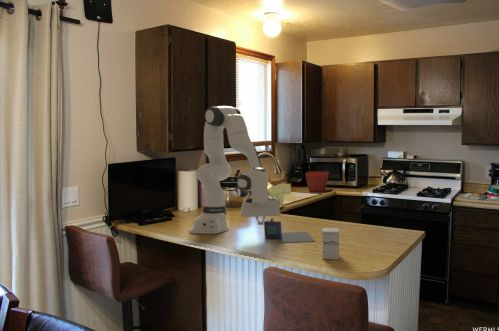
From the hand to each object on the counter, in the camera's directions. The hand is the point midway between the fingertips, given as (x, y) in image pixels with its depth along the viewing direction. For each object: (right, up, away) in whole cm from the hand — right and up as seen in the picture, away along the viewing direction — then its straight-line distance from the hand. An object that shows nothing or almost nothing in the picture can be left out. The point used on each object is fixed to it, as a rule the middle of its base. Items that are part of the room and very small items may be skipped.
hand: (260, 224), depth 228 cm
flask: (+7, -7, +1) cm, 10 cm away
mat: (+18, -7, +2) cm, 19 cm away
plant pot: (+55, +8, +160) cm, 170 cm away
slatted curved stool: (+10, 0, +92) cm, 92 cm away
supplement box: (+30, -10, -34) cm, 47 cm away
